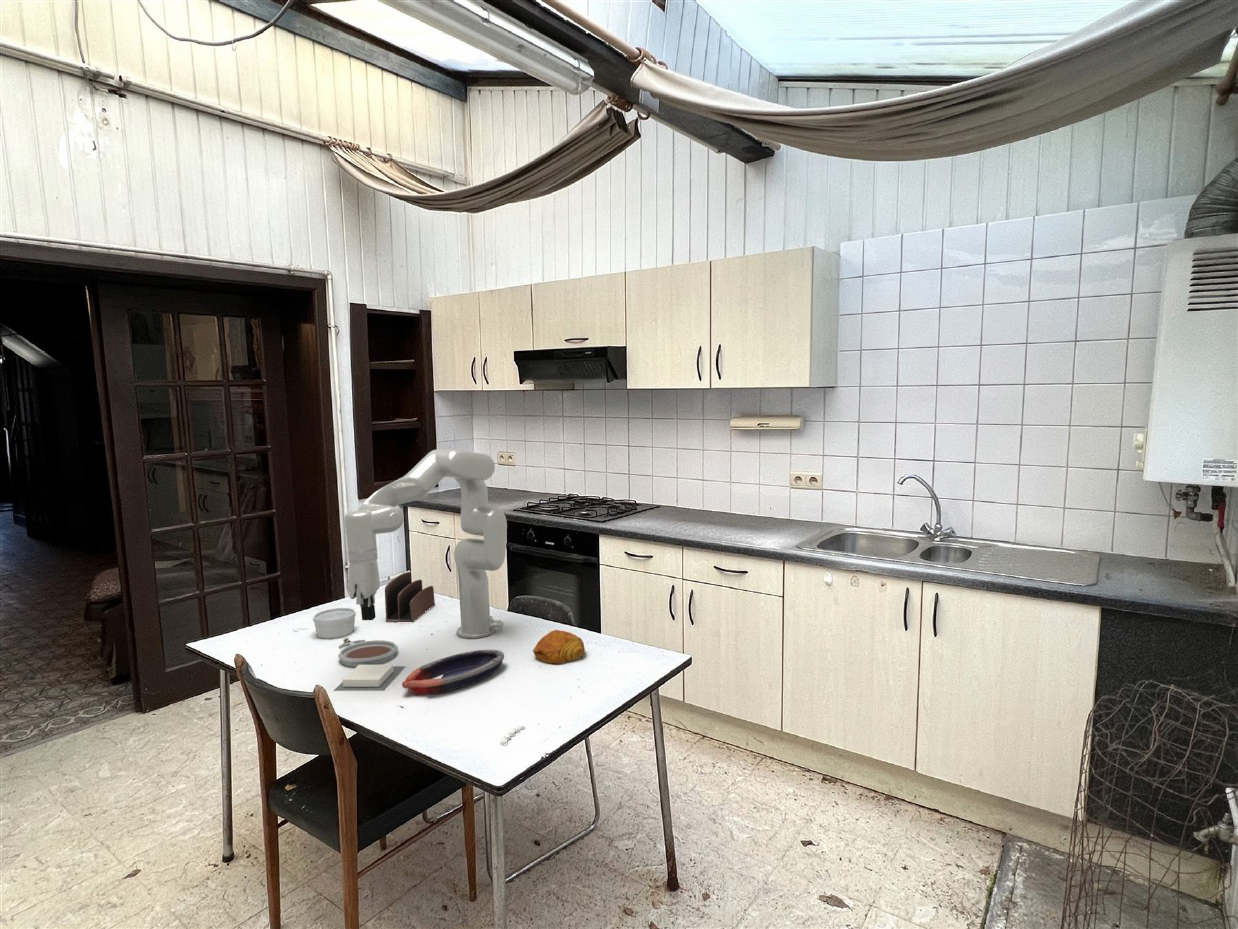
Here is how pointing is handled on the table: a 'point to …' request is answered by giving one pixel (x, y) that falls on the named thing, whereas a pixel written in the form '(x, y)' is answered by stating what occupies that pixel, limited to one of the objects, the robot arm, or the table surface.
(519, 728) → the white bumpy strip
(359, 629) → the table surface
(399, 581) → the letter holder
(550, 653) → the croissant
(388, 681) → the mat
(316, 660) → the table surface
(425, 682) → the dish
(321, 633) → the ramekin
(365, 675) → the tile
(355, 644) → the oval picture frame
